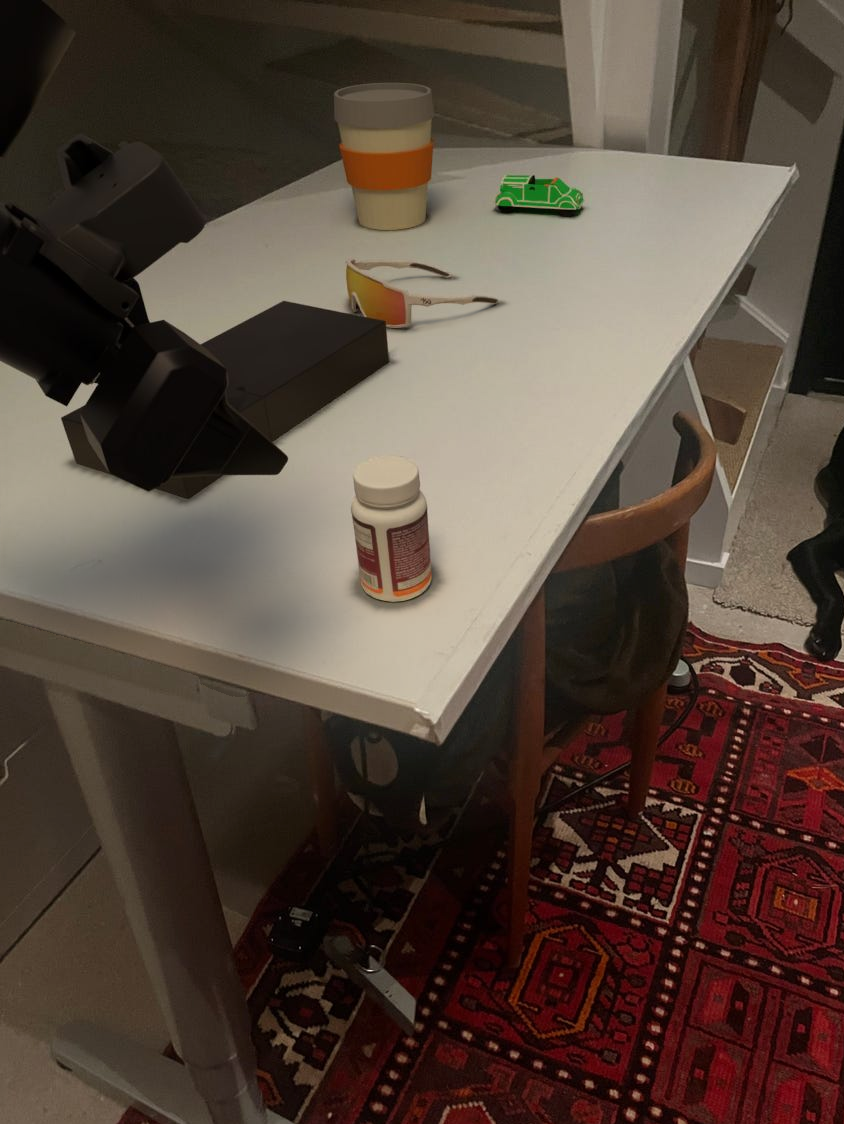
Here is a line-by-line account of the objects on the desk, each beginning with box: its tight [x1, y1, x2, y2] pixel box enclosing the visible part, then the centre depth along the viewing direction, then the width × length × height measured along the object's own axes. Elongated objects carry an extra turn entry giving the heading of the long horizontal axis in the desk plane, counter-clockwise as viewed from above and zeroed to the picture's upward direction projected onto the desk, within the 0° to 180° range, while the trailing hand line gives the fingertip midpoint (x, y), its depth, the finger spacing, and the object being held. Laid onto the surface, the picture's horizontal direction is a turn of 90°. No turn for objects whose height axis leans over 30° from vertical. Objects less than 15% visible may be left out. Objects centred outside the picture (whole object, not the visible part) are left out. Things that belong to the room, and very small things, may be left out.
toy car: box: [491, 174, 585, 218], centre depth 125 cm, size 12×5×4 cm, turn 75°
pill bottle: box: [350, 455, 433, 603], centre depth 59 cm, size 5×5×8 cm
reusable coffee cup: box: [333, 82, 435, 231], centre depth 119 cm, size 13×13×15 cm
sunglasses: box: [345, 258, 500, 329], centre depth 99 cm, size 14×15×5 cm
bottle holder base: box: [60, 300, 390, 499], centre depth 80 cm, size 28×12×4 cm, turn 151°
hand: (249, 430), depth 50 cm, fingers open, 9 cm apart
